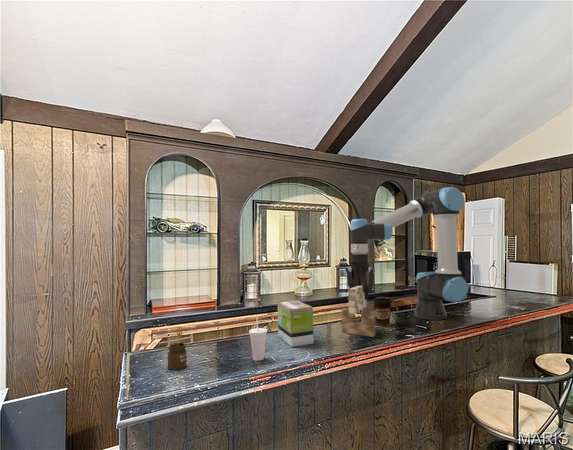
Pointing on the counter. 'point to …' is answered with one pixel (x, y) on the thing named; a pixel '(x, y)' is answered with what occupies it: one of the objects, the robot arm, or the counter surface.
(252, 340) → the smoothie
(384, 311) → the coffee cup
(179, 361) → the utensil holder
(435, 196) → the robot arm
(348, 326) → the walnut board
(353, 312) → the maple plate
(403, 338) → the counter surface
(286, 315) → the tea box
